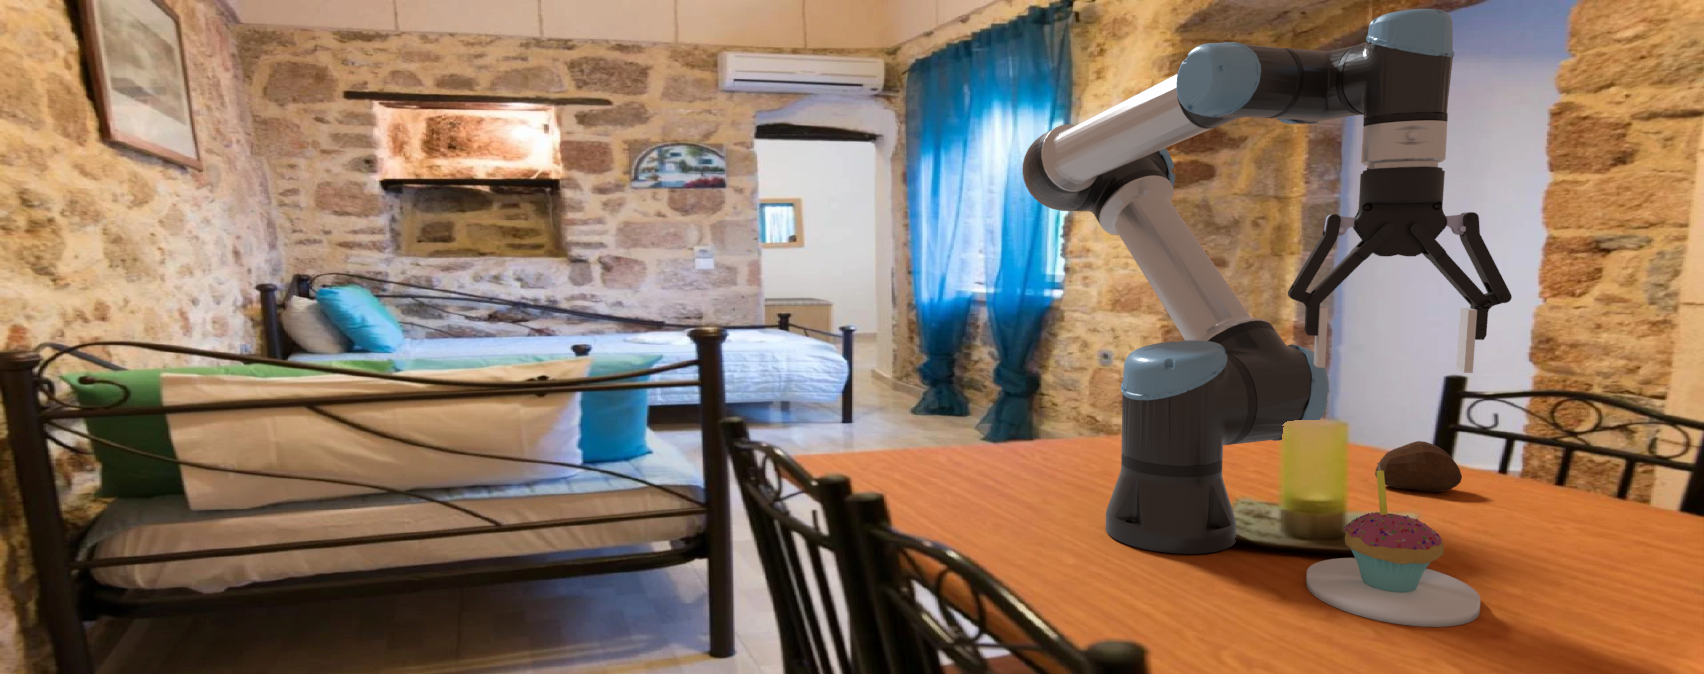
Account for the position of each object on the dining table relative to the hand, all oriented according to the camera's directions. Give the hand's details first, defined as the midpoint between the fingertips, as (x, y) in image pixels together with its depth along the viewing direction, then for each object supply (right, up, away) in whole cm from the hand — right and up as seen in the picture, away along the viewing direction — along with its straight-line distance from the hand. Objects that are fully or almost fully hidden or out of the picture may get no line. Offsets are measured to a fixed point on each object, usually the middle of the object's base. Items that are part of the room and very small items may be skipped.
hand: (1390, 368), depth 96 cm
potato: (+23, -19, +33) cm, 44 cm away
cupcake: (-3, -22, -5) cm, 23 cm away
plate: (-3, -23, -5) cm, 24 cm away
